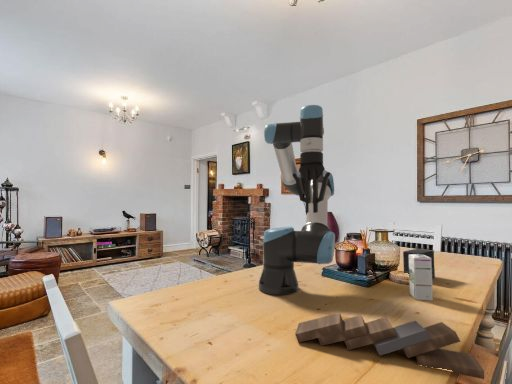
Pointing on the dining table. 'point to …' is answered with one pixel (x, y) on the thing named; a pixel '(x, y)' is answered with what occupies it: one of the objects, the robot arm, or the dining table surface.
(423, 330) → the domino
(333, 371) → the dining table surface
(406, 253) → the small box
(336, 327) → the domino
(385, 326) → the domino
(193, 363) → the dining table surface
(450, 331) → the domino
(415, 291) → the syrup box
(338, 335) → the domino
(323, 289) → the dining table surface
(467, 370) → the domino
